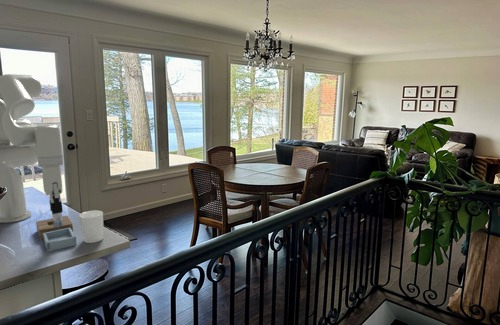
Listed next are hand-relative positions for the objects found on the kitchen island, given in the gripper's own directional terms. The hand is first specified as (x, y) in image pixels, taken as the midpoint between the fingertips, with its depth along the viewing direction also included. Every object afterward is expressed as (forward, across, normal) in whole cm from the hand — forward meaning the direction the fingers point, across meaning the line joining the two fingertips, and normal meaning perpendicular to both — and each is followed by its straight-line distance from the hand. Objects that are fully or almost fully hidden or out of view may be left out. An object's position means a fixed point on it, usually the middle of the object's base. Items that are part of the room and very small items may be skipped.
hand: (56, 211), depth 120 cm
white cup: (+13, +4, +10) cm, 17 cm away
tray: (+12, 0, 0) cm, 12 cm away
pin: (+6, 0, 0) cm, 6 cm away
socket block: (+12, -12, 0) cm, 17 cm away
